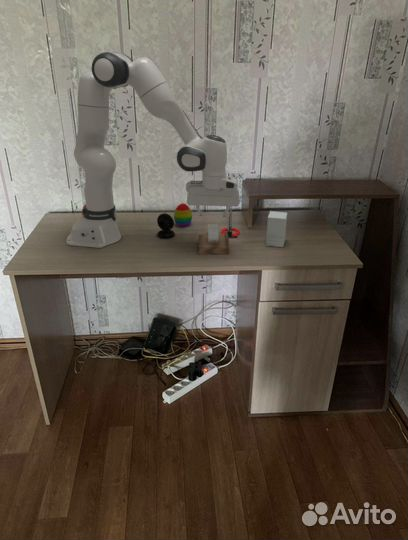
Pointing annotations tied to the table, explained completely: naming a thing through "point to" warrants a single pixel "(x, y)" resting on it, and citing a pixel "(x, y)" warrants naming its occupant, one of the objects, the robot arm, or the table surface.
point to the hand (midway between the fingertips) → (212, 216)
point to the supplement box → (276, 229)
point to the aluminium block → (213, 233)
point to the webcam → (165, 226)
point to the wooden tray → (214, 245)
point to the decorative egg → (182, 215)
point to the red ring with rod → (230, 227)
